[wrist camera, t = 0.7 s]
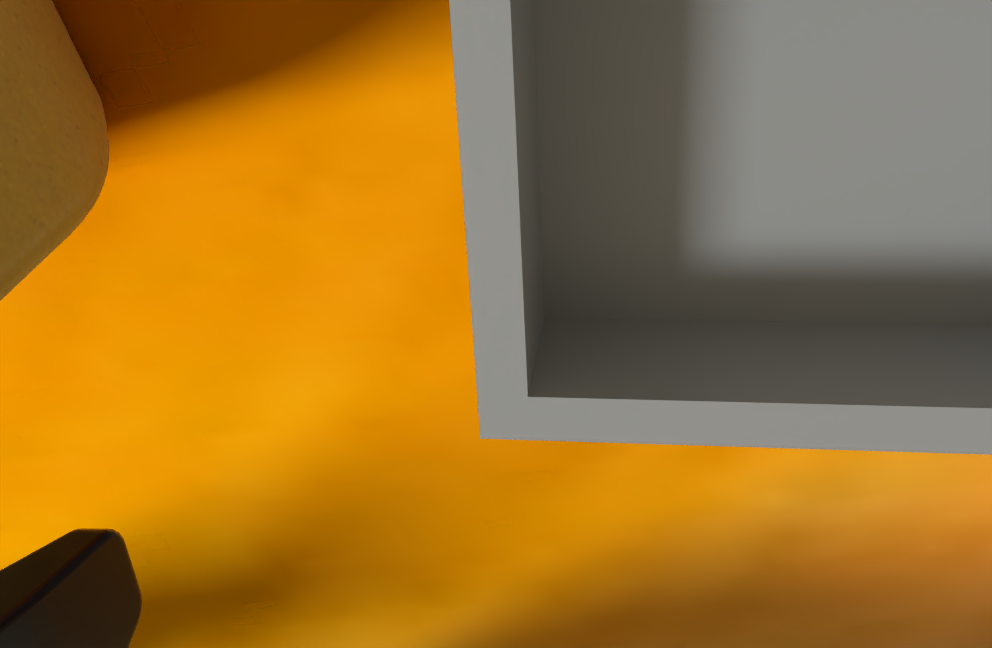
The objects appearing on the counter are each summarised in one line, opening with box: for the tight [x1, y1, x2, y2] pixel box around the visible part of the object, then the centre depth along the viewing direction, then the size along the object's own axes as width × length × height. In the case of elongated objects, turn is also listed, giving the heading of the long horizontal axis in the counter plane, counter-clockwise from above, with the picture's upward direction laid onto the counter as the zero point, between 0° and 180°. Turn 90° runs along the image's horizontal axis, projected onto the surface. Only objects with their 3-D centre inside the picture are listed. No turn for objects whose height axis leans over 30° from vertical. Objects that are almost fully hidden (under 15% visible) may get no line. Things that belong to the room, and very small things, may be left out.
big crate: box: [449, 0, 992, 455], centre depth 17 cm, size 14×14×4 cm
